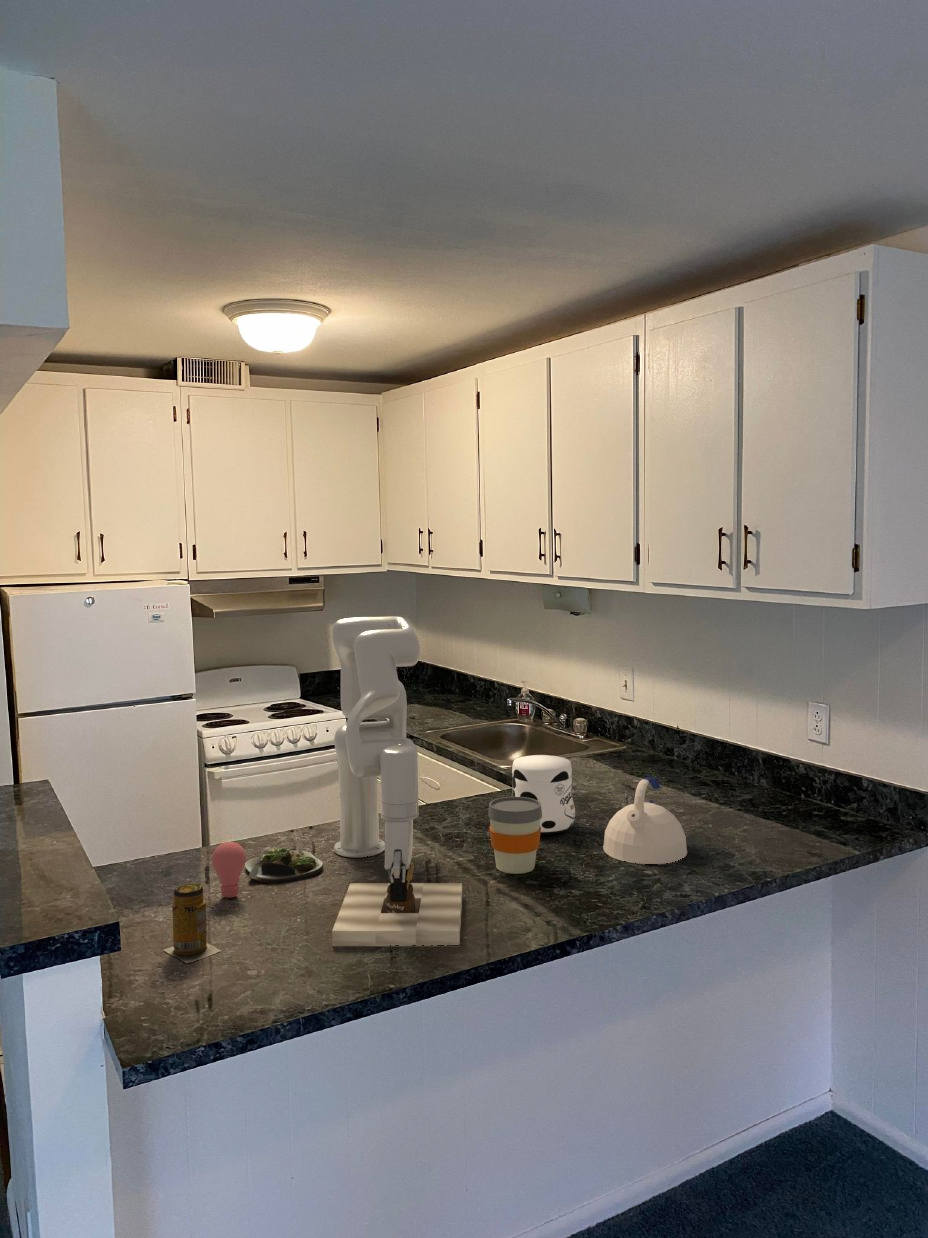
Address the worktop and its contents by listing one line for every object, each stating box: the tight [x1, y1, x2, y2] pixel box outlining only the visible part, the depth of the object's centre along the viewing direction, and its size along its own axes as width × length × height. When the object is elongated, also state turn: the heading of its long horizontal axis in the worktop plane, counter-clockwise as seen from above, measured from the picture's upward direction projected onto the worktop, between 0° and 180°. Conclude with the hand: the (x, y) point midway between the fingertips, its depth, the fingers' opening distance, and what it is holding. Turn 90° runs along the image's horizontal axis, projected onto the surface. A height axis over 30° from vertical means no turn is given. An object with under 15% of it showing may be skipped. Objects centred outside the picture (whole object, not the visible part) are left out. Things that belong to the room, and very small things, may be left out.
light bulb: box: [211, 841, 247, 899], centre depth 198 cm, size 7×7×12 cm
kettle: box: [602, 776, 688, 865], centre depth 224 cm, size 20×21×18 cm
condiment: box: [163, 883, 222, 964], centre depth 172 cm, size 7×8×12 cm
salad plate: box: [244, 847, 324, 884], centre depth 215 cm, size 19×18×5 cm
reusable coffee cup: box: [487, 796, 542, 875], centre depth 214 cm, size 13×13×15 cm
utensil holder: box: [385, 864, 416, 913], centre depth 185 cm, size 6×6×12 cm
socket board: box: [331, 882, 463, 947], centre depth 185 cm, size 24×24×3 cm
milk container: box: [511, 754, 576, 835], centre depth 242 cm, size 17×17×18 cm
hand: (400, 892), depth 185 cm, fingers open, 9 cm apart
